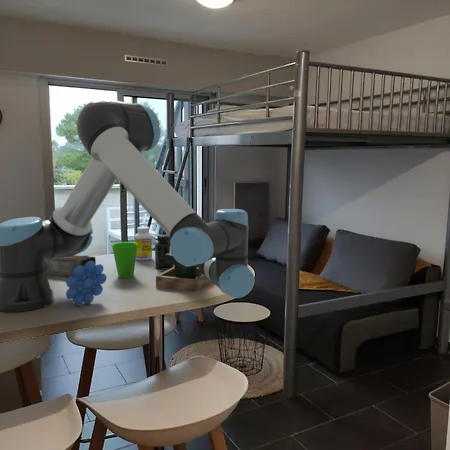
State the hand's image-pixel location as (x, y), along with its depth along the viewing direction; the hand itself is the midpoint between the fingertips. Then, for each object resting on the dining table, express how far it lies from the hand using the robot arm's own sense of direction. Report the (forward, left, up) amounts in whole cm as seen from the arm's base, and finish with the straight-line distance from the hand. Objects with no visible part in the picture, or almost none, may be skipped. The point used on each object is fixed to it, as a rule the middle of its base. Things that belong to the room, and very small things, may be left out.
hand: (193, 250), depth 128 cm
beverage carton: (-50, +4, -13) cm, 52 cm away
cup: (-29, +9, -13) cm, 33 cm away
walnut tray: (-6, +8, -13) cm, 16 cm away
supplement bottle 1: (-36, +33, -13) cm, 50 cm away
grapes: (-24, -19, -13) cm, 34 cm away
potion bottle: (-6, +7, -12) cm, 16 cm away
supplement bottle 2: (-22, +24, -13) cm, 35 cm away
